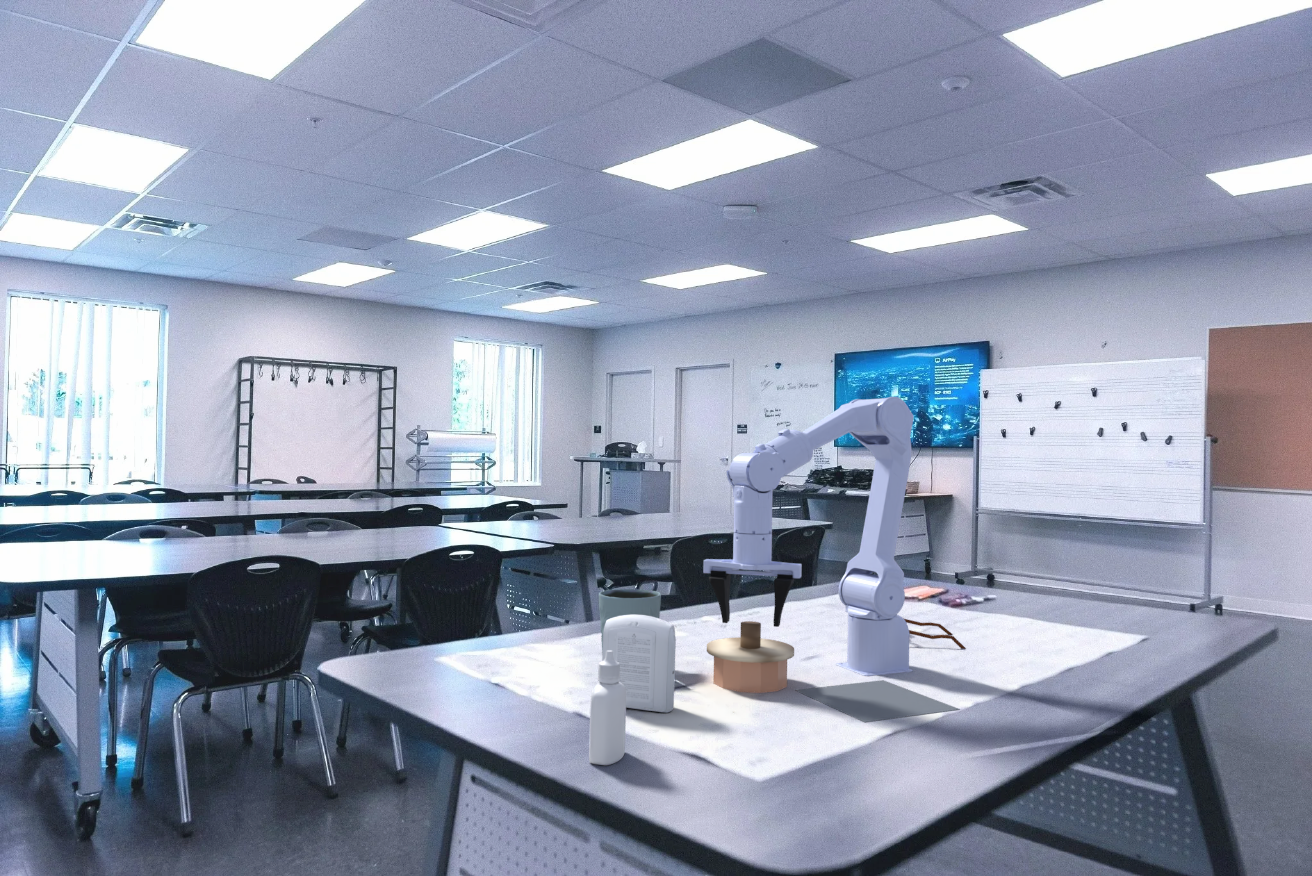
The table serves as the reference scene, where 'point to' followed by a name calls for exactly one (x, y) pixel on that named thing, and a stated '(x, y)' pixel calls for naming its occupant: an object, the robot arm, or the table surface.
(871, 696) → the mat
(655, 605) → the green plant pot
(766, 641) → the lid
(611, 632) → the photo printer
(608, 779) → the table surface
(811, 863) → the table surface
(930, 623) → the glasses
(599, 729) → the eye dropper bottle
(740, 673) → the bowl
